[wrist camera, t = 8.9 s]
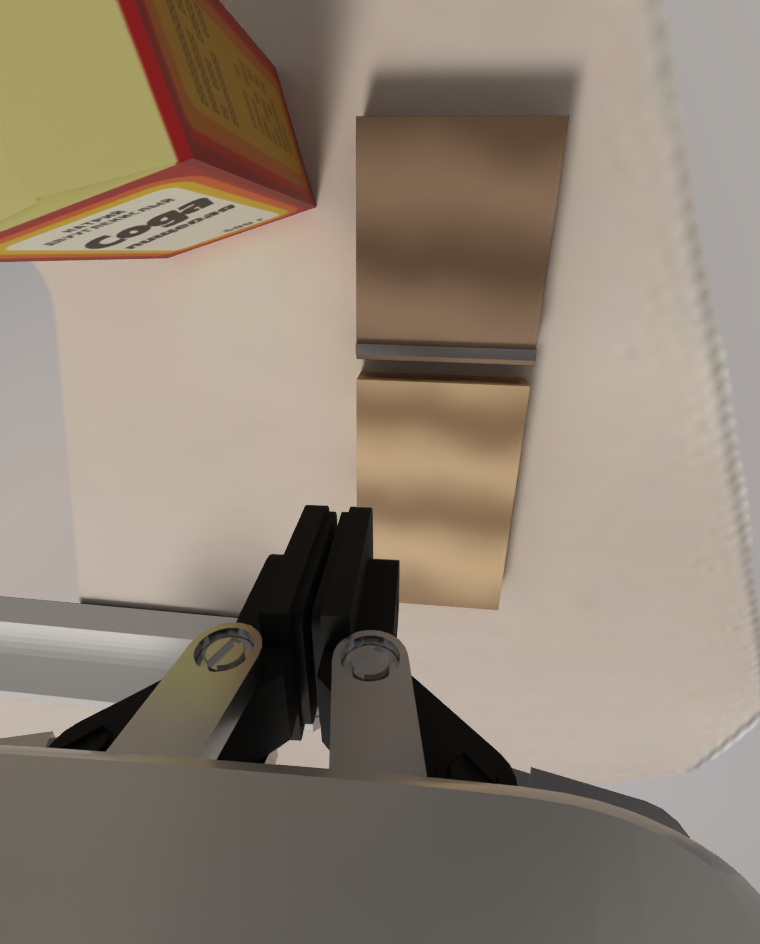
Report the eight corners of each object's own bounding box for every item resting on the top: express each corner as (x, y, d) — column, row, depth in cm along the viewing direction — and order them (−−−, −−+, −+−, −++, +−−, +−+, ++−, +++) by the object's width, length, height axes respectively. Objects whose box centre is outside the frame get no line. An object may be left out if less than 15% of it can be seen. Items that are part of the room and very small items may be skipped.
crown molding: (320, 618, 40) (311, 651, 37) (322, 722, 45) (314, 759, 42) (-42, 586, 42) (-82, 614, 39) (-2, 688, 47) (-34, 722, 44)
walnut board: (361, 125, 26) (355, 115, 24) (559, 125, 25) (570, 114, 23) (361, 352, 30) (356, 359, 28) (527, 358, 30) (534, 366, 28)
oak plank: (361, 371, 31) (356, 379, 29) (524, 378, 30) (530, 386, 28) (360, 582, 37) (357, 599, 36) (494, 592, 37) (498, 609, 35)
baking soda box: (166, 258, 29) (-96, 263, 15) (114, 132, 27) (-259, -10, 12) (316, 206, 27) (186, 155, 13) (274, 67, 25) (57, -191, 10)
